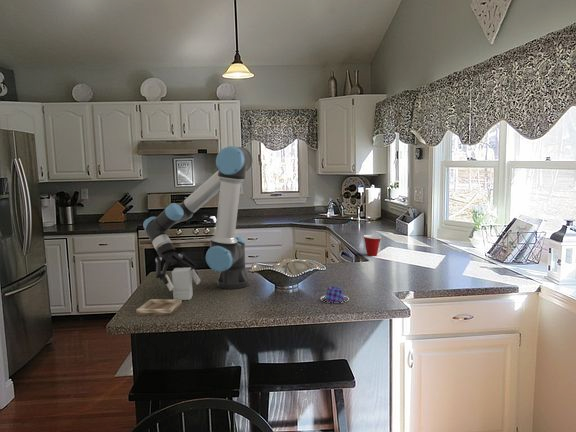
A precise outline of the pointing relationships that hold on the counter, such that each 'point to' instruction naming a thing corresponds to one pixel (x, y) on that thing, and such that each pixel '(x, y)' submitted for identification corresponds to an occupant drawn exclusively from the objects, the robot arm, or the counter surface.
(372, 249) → the plastic cup
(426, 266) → the counter surface
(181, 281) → the supplement box
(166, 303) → the square wooden tray
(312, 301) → the counter surface
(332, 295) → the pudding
